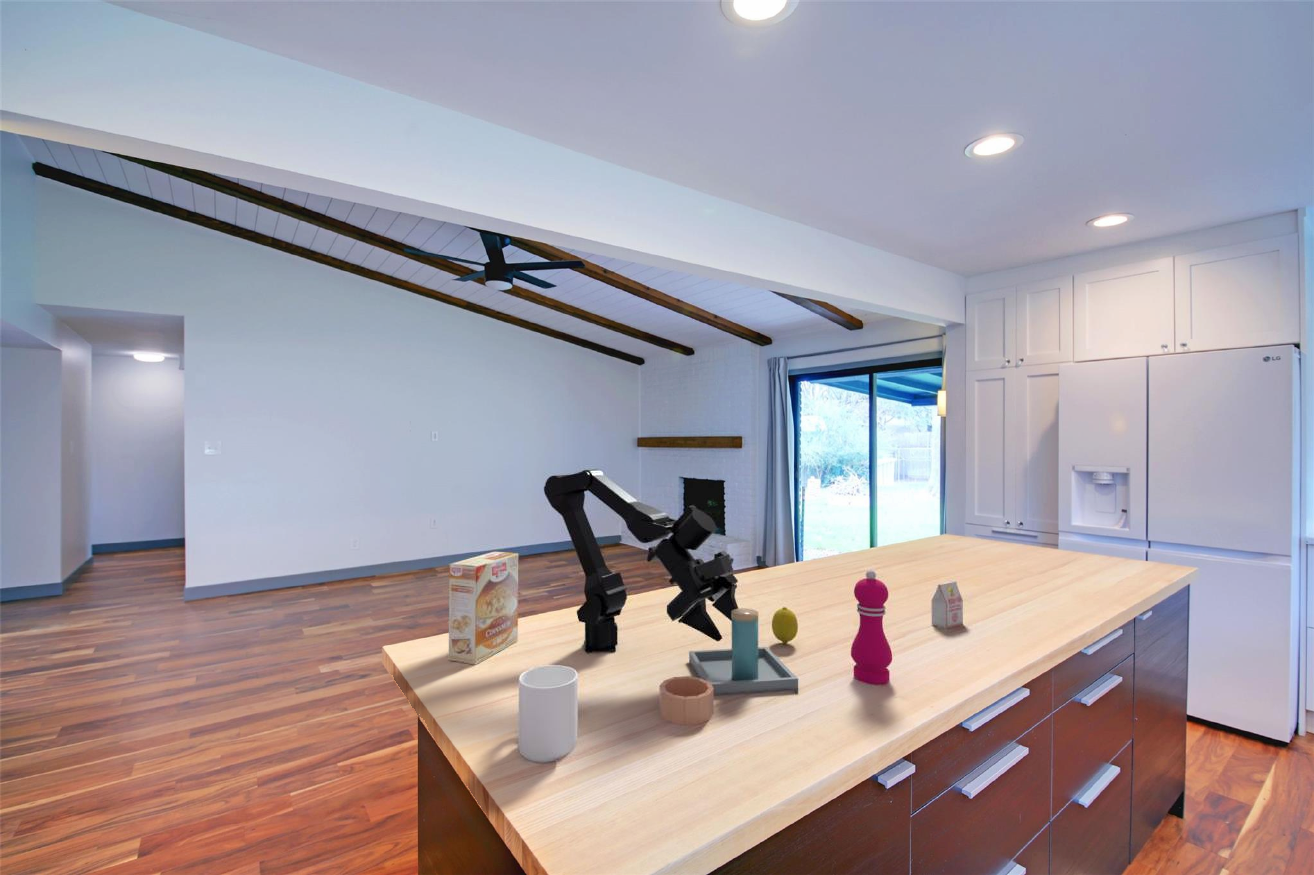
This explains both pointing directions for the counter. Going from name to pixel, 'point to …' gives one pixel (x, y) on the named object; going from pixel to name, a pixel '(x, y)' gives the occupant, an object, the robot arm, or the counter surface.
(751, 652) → the spice jar
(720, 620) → the counter surface
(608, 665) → the counter surface
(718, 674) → the tray
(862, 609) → the pepper mill
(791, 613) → the lemon
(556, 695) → the mug
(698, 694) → the terracotta cup
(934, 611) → the milk carton
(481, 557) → the coffeecake box
